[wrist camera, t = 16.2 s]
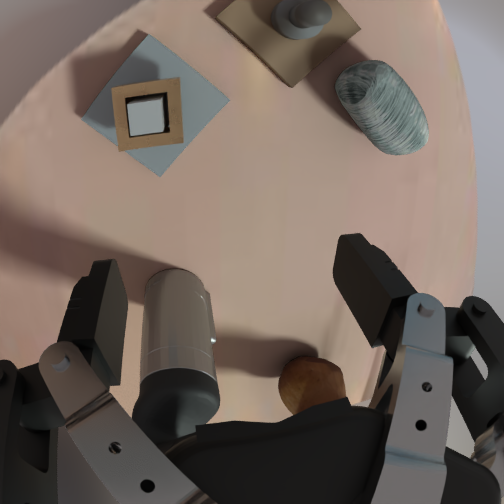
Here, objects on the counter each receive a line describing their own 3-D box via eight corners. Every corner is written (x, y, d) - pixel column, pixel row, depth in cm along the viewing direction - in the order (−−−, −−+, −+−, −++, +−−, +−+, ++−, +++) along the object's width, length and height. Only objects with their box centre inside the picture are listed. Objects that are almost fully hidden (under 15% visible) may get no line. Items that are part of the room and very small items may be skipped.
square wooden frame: (180, 76, 27) (179, 78, 25) (183, 135, 31) (183, 143, 28) (117, 85, 26) (111, 87, 24) (124, 143, 30) (118, 151, 27)
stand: (355, 29, 30) (394, 27, 23) (288, 86, 33) (315, 95, 26) (289, -40, 24) (317, -61, 17) (214, 18, 27) (223, 5, 20)
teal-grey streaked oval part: (310, 93, 31) (393, 96, 24) (341, 46, 32) (414, 44, 25) (356, 164, 41) (421, 179, 34) (378, 117, 42) (439, 125, 35)
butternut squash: (266, 382, 67) (295, 482, 47) (279, 345, 60) (317, 461, 40) (322, 375, 71) (358, 465, 50) (341, 339, 63) (389, 440, 43)
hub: (228, 98, 33) (240, 109, 26) (160, 172, 36) (155, 202, 30) (150, 35, 27) (139, 27, 20) (84, 116, 30) (59, 134, 23)
